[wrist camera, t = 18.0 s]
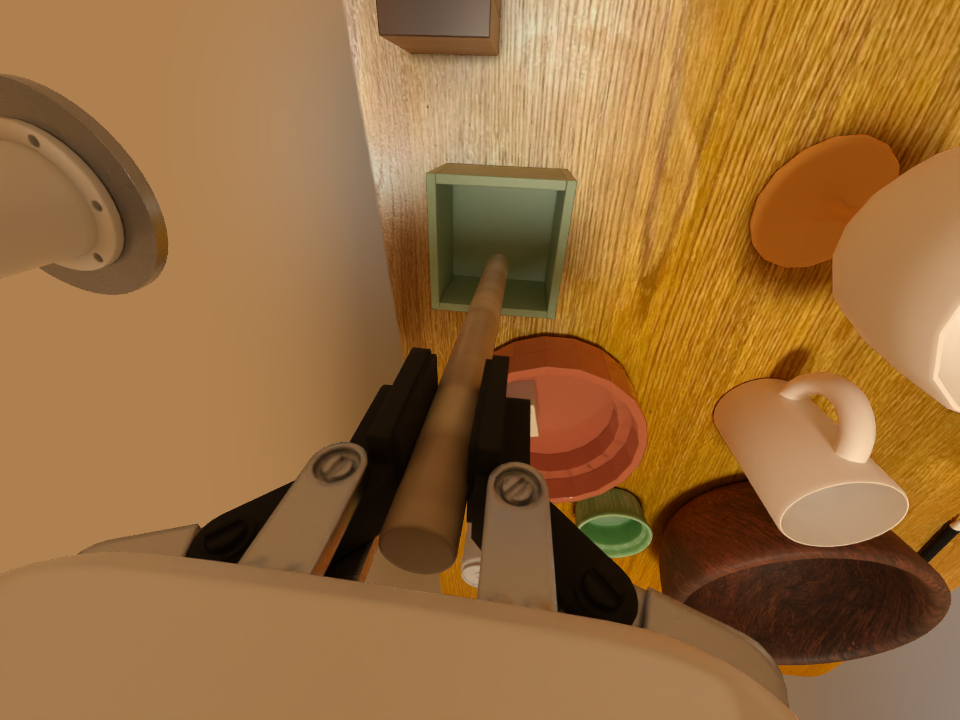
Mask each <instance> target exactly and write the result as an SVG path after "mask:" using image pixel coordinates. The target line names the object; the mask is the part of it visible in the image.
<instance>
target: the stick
mask: <svg viewBox="0 0 960 720" xmlns="http://www.w3.org/2000/svg"><path fill="white" fill-rule="evenodd" d="M508 269H509V262H508V259H507V258H506V257H505V256H504V255H501V254H494V255H492V256H491V257H490V258H489V259H488V261H487V264H486V266H485V269H484V271H483V274H482V276H481V279H480V281H479V284H478V287H477V289H476V292H475V294H474V297H473V299H472V302H471V304H470V307H469V309H468V312H467V314H466V317H465V319H464V322H463V325H462V327H461V330H460V332H459V335H458V337H457V340H456V342H455V345H454V347H453V350H452V352H451V355H450V357H449V360H448V363H447V365H446V368H445V370H444V373H443V375H442V378H441V380H440V383H439V385H438V388H437V390H436V393H435V396H434V398H433V401H432V403H431V406H430V408H429V411H428V413H427V416H426V418H425V421H424V423H423V426H422V428H421V431H420V434H419V436H418V439H417V441H416V444H415V446H414V449H413V451H412V454H411V456H410V459H409V461H408V464H407V467H406V469H405V472H404V474H403V477H402V479H401V482H400V484H399V487H398V489H397V492H396V494H395V497H394V499H393V502H392V505H391V507H390V510H389V512H388V515H387V517H386V520H385V522H384V525H383V527H382V530H381V532H380V535H379V548H380V551H381V553H382V554H383V556H384V557H385V558H386V559H387V560H388V561H389V562H391V563H392V564H393V565H395V566H397V567H398V568H401V569H403V570H405V571H408V572H412V573H417V574H436V573H440V572H443V571H445V570H447V569H449V568H450V567H451V566H452V565H453V563H454V562H455V560H456V558H457V553H458V547H459V542H460V536H461V531H462V525H463V520H464V514H465V508H466V503H467V497H468V492H469V485H468V452H469V443H470V437H471V432H472V427H473V422H474V417H475V411H476V406H477V401H478V396H479V391H480V386H481V381H482V376H483V371H484V366H485V360H486V359H492V357H493V352H494V347H495V341H496V336H497V330H498V325H499V319H500V313H501V308H502V302H503V297H504V291H505V286H506V280H507V274H508Z"/></svg>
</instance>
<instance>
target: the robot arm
mask: <svg viewBox="0 0 960 720" xmlns="http://www.w3.org/2000/svg"><path fill="white" fill-rule="evenodd" d="M123 244H124V232H123V225H122V222H121V218H120V215H119V212H118V210H117V208H116V206H115V203H114V201H113V199H112V198H111V196H110V194H109V193H108V191H107V189H106V188H105V186H104V185H103V184H102V182H101V181H100V180H99V178H98V177H97V176H96V174H95V173H94V172H93V171H92V170H91V169H90V167H89V166H88V165H87V164H86V163H85V162H84V161H83V160H82V159H81V158H80V157H79V156H78V155H77V154H75V153H74V152H73V151H72V150H71V149H70V148H69V147H67V146H66V145H65V144H64V143H62V142H61V141H59V140H58V139H57V138H55V137H54V136H52V135H51V134H49V133H48V132H46V131H44V130H42V129H40V128H38V127H36V126H35V125H32V124H30V123H27V122H24V121H21V120H18V119H13V118H7V117H0V279H1V278H4V277H7V276H11V275H14V274H18V273H21V272H24V271H28V270H32V269H35V268H38V267H42V266H45V265H49V264H52V263H55V264H58V265H60V266H63V267H66V268H70V269H74V270H80V271H93V270H96V269H100V268H103V267H106V266H108V265H110V264H112V263H114V262H115V261H116V260H117V259H118V258H119V256H120V254H121V252H122V250H123ZM509 360H510V356H499V355H493V357H492V359H486V360H485V366H484V371H483V376H482V381H481V386H480V391H479V396H478V401H477V406H476V411H475V417H474V422H473V427H472V432H471V437H470V443H469V452H468V485H469V492H468V497H467V522H468V523H472V526H471V539H472V540H473V541H474V543H475V544H476V545H477V546H478V548H479V549H480V550H481V560H480V571H479V582H478V593H477V599H471V598H464V597H458V596H451V595H445V594H438V593H432V592H425V591H418V590H412V589H405V588H398V587H391V586H385V585H377V584H371V583H365V580H366V577H367V574H368V572H369V569H370V567H371V564H372V562H373V559H374V556H375V554H376V551H377V549H378V546H379V535H380V532H381V530H382V527H383V525H384V522H385V520H386V517H387V515H388V512H389V510H390V507H391V505H392V502H393V499H394V497H395V494H396V492H397V489H398V487H399V484H400V482H401V479H402V477H403V474H404V472H405V469H406V467H407V464H408V461H409V459H410V456H411V454H412V451H413V449H414V446H415V444H416V441H417V439H418V436H419V434H420V431H421V428H422V426H423V423H424V421H425V418H426V416H427V413H428V411H429V408H430V406H431V403H432V401H433V398H434V396H435V393H436V390H437V388H438V374H437V355H436V354H431V350H430V349H424V348H412V349H411V351H410V353H409V355H408V357H407V359H406V361H405V362H404V364H403V366H402V368H401V370H400V372H399V374H398V376H397V377H396V379H395V381H394V383H393V385H383V386H382V387H381V388H380V390H379V392H378V393H377V395H376V397H375V399H374V400H373V402H372V404H371V405H370V407H369V409H368V411H367V413H366V414H365V416H364V418H363V420H362V421H361V423H360V425H359V426H358V428H357V430H356V432H355V434H354V435H353V437H352V439H351V441H350V442H340V443H336V444H331V445H329V446H327V447H324V448H322V449H321V450H319V451H318V452H316V453H315V454H314V455H313V457H312V458H311V459H310V460H309V461H308V463H307V464H306V466H305V467H304V469H303V470H302V471H301V473H300V474H299V476H298V477H297V479H296V480H295V481H293V482H290V483H288V484H286V485H284V486H282V487H280V488H278V489H275V490H273V491H271V492H269V493H267V494H265V495H263V496H261V497H259V498H256V499H254V500H252V501H250V502H248V503H246V504H243V505H241V506H239V507H237V508H235V509H233V510H231V511H228V512H226V513H224V514H222V515H220V516H219V517H217V518H215V519H213V520H212V521H210V522H209V523H208V524H207V525H206V526H204V527H203V528H200V526H199V525H198V524H193V525H188V526H183V527H177V528H172V529H166V530H161V531H155V532H150V533H144V534H139V535H133V536H128V537H123V538H117V539H111V540H107V541H104V542H100V543H97V544H94V545H93V546H91V547H89V548H87V549H85V550H83V551H81V552H80V553H78V554H77V555H71V556H65V557H60V558H56V559H51V560H47V561H42V562H38V563H33V564H30V565H27V566H23V567H20V568H17V569H14V570H10V571H7V572H5V573H2V574H0V720H800V719H799V718H798V717H797V716H796V715H795V714H794V713H793V712H792V711H791V710H790V709H789V703H788V697H787V689H786V685H785V682H784V679H783V676H782V673H781V671H780V669H779V668H778V666H777V664H776V663H775V661H774V660H773V658H772V656H771V655H770V654H769V653H768V652H767V651H766V650H765V649H764V648H763V647H762V646H761V645H760V644H759V643H758V642H756V641H755V640H753V639H752V638H750V637H749V636H747V635H746V634H744V633H742V632H740V631H738V630H736V629H734V628H732V627H730V626H728V625H726V624H724V623H722V622H720V621H718V620H716V619H714V618H711V617H709V616H707V615H705V614H703V613H701V612H699V611H697V610H695V609H693V608H691V607H689V606H687V605H685V604H683V603H681V602H679V601H677V600H675V599H673V598H671V597H669V596H666V595H664V594H662V593H660V592H658V591H656V590H654V589H652V588H650V587H648V589H647V591H646V590H644V589H642V588H640V587H638V586H636V585H634V584H632V582H631V580H630V578H629V577H628V576H627V575H626V573H625V572H624V571H623V570H622V569H621V568H620V567H619V566H618V565H617V564H616V563H615V562H614V561H613V560H612V559H611V558H610V557H608V556H607V555H606V554H605V553H604V552H603V551H602V550H601V549H600V548H599V547H598V546H597V545H596V544H595V543H594V542H593V541H592V540H591V539H589V538H588V537H587V536H586V535H585V534H584V533H583V532H582V531H581V530H580V529H579V528H578V527H577V526H576V525H575V524H574V523H573V522H571V521H570V520H569V519H568V518H567V517H566V516H565V515H564V514H563V513H562V512H561V511H560V510H559V509H558V508H557V507H556V506H555V505H553V504H552V503H551V502H550V501H549V491H548V485H547V482H546V479H545V478H544V476H543V475H542V473H540V472H539V471H538V470H537V469H536V468H534V467H532V466H530V420H531V402H530V399H521V398H511V397H506V392H507V381H508V371H509Z"/></svg>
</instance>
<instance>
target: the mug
mask: <svg viewBox="0 0 960 720" xmlns="http://www.w3.org/2000/svg"><path fill="white" fill-rule="evenodd" d="M815 394H820V395H823V396H825V397H826V398H827V399H828V400H829V401H830V402H831V403H832V404H833V406H834V408H835V410H836V413H837V417H838V426H837V425H836V424H835V423H834V422H833V421H832V420H831V419H830V418H829V417H828V416H827V415H826V414H825V413H824V412H823V411H822V410H821V409H820V408H819V407H818V406H817V405H816V404H815V403H814V402H813V401H812V400H811V399H810V398H809V397H810V396H812V395H815ZM713 418H714V424H715V426H716V428H717V429H718V431H719V433H720V434H721V436H722V438H723V439H724V441H725V442H726V444H727V446H728V447H729V449H730V451H731V452H732V454H733V456H734V457H735V459H736V460H737V462H738V464H739V465H740V467H741V469H742V470H743V472H744V473H745V475H746V477H747V478H748V480H749V482H750V483H751V485H752V486H753V488H754V490H755V491H756V493H757V495H758V496H759V498H760V499H761V501H762V503H763V504H764V506H765V508H766V509H767V511H768V512H769V514H770V516H771V517H772V519H773V521H774V522H775V524H776V525H777V527H778V529H779V530H780V531H781V532H782V533H783V534H784V535H785V536H786V537H788V538H790V539H791V540H793V541H795V542H798V543H801V544H805V545H810V546H819V547H834V546H843V545H849V544H854V543H859V542H862V541H866V540H869V539H871V538H874V537H877V536H879V535H881V534H883V533H885V532H887V531H889V530H890V529H892V528H893V527H894V526H896V525H897V524H898V523H899V522H900V521H901V520H902V519H903V518H904V517H905V515H906V513H907V512H908V508H909V502H908V498H907V495H906V493H905V492H904V491H903V489H902V488H901V487H899V486H898V485H897V484H896V483H895V482H894V481H893V480H892V479H891V478H890V477H889V476H888V475H887V474H886V473H885V472H884V471H883V470H882V469H881V468H880V467H879V466H878V465H877V464H876V463H875V462H874V461H873V460H872V459H871V458H870V457H869V456H870V454H871V452H872V449H873V446H874V443H875V436H876V423H875V417H874V413H873V410H872V408H871V405H870V403H869V401H868V399H867V398H866V396H865V394H864V393H863V392H862V391H861V389H860V388H859V387H857V386H856V385H855V384H854V383H853V382H851V381H850V380H848V379H846V378H844V377H841V376H839V375H836V374H833V373H828V372H812V373H806V374H802V375H799V376H797V377H795V378H793V379H792V380H790V381H789V382H788V381H785V380H780V379H771V378H766V379H757V380H753V381H749V382H747V383H744V384H741V385H739V386H737V387H735V388H734V389H732V390H731V391H729V392H728V393H726V394H725V395H724V396H723V397H722V398H721V399H720V401H719V402H718V404H717V405H716V408H715V410H714V417H713Z"/></svg>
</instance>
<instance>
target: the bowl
mask: <svg viewBox="0 0 960 720" xmlns="http://www.w3.org/2000/svg"><path fill="white" fill-rule="evenodd" d="M493 355H499V356H510V360H509V371H508V381H507V383H509V382H520V381H531V380H534V385H535V392H536V398H537V405H538V420H539V436H537V437H530V466H532V467H534V468H536V469H537V470H538V471H539V472H540V473H542V475H543V476H544V478H545V479H546V482H547V485H548V491H549V501H550V502H551V503H562V502H576V501H580V500H583V499H587V498H590V497H594V496H597V495H601V494H603V493H604V492H606V491H608V490H610V489H611V488H613V487H615V486H617V485H619V484H620V483H622V482H624V480H625V479H626V478H627V477H628V476H629V475H630V474H631V473H632V472H633V471H634V470H635V469H636V468H637V467H638V466H639V464H640V462H641V460H642V457H643V455H644V452H645V450H646V447H647V445H648V439H647V423H646V419H645V417H644V414H643V412H642V409H641V406H640V404H639V401H638V399H637V396H636V393H635V391H634V388H633V386H632V384H631V382H630V380H629V379H628V377H627V375H626V373H625V371H624V369H623V368H622V366H621V365H620V364H619V363H617V362H616V361H615V360H614V359H613V358H611V357H610V356H609V355H608V354H607V353H605V352H604V351H603V350H602V349H599V348H597V347H594V346H592V345H589V344H586V343H584V342H581V341H579V340H576V339H572V338H560V337H549V336H541V337H536V338H531V339H525V340H520V341H515V342H513V343H511V344H509V345H507V346H505V347H503V348H501V349H499V350H497V351H495V352H493Z"/></svg>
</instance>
